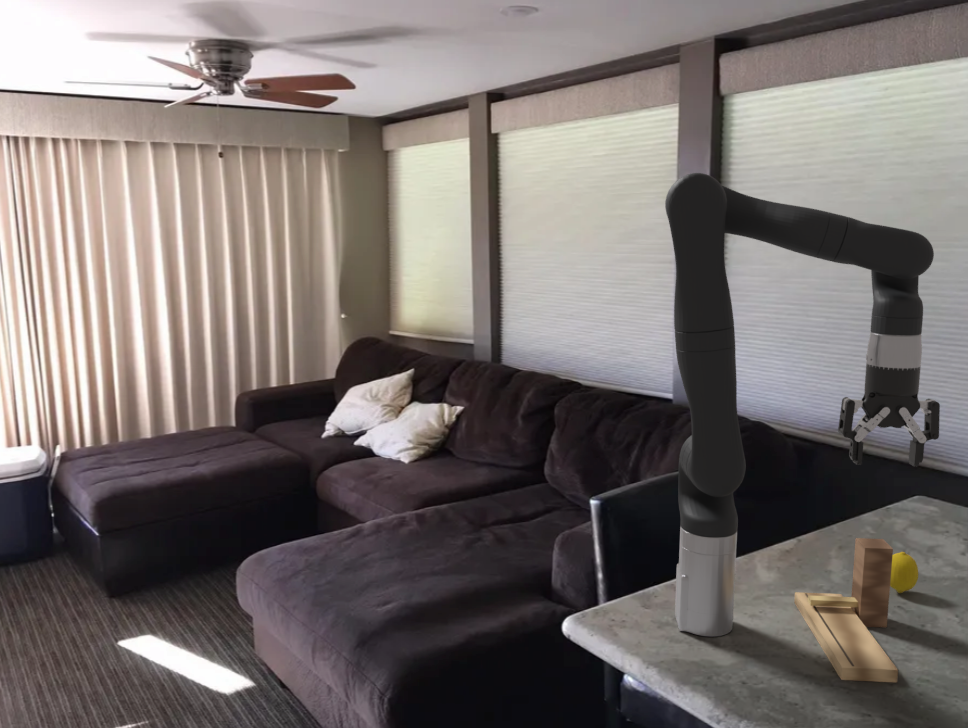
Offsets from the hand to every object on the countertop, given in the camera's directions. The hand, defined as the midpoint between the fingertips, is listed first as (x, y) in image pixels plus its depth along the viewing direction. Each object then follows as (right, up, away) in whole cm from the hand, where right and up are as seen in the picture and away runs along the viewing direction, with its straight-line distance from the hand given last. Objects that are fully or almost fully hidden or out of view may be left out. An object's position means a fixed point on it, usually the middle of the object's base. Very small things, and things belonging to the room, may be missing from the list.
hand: (885, 464), depth 130 cm
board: (-4, -30, +6) cm, 30 cm away
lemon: (+14, -27, +23) cm, 38 cm away
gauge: (-1, -28, +13) cm, 31 cm away
